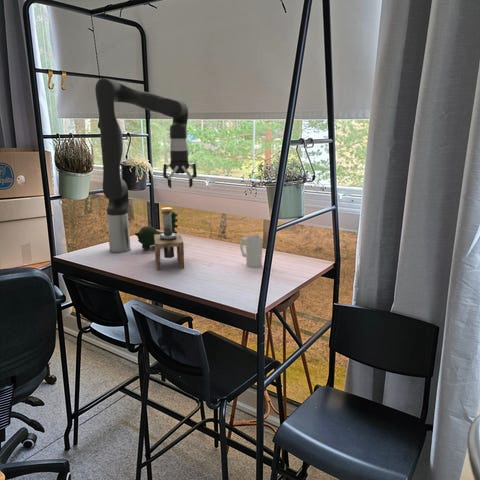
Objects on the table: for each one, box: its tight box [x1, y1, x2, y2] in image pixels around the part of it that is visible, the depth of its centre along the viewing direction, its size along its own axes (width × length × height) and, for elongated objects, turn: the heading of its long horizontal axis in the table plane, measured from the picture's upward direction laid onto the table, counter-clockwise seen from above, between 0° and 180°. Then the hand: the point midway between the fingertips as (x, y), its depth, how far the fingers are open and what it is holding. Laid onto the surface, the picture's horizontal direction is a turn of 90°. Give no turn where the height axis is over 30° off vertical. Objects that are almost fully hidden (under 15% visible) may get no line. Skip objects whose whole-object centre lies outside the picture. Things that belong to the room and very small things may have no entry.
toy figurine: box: [134, 211, 179, 251], centre depth 203 cm, size 9×19×25 cm
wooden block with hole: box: [154, 232, 185, 271], centre depth 178 cm, size 11×16×11 cm
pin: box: [160, 207, 177, 259], centre depth 176 cm, size 7×7×20 cm
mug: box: [239, 234, 263, 268], centre depth 177 cm, size 10×7×12 cm, turn 56°
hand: (180, 187), depth 186 cm, fingers open, 8 cm apart
